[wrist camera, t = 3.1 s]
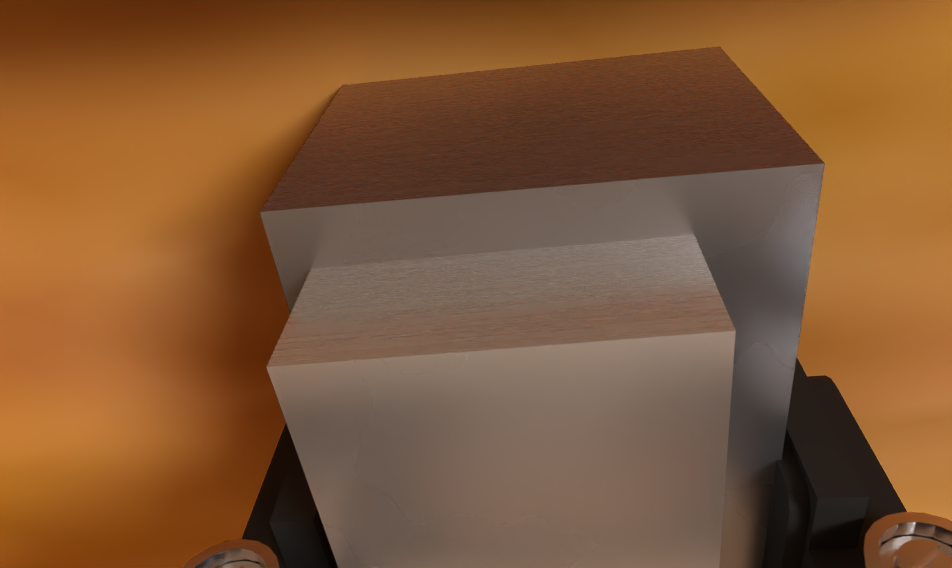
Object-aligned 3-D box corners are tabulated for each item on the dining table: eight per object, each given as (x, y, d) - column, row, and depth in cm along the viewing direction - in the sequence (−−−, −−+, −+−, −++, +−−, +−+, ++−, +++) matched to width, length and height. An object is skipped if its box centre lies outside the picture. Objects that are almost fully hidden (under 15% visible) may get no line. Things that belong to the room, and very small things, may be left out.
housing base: (716, 42, 10) (824, 164, 6) (687, 543, 15) (739, 755, 12) (344, 81, 10) (259, 212, 7) (444, 551, 15) (424, 757, 12)
